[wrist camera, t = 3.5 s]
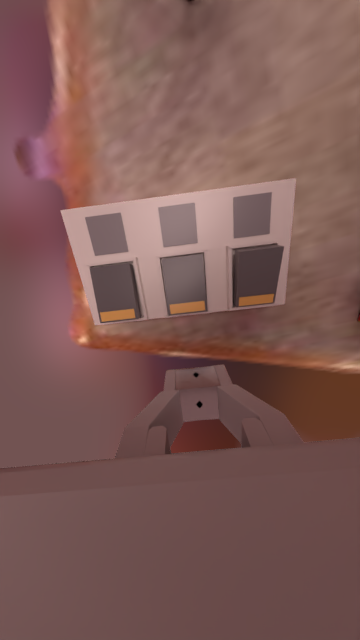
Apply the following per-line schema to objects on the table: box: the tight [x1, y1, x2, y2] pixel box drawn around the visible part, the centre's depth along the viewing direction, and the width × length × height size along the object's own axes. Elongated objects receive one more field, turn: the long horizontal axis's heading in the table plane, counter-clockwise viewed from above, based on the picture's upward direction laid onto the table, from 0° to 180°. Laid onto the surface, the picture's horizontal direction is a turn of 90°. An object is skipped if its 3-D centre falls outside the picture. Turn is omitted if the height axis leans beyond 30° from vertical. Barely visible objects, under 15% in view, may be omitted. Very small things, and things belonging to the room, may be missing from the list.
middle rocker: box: [162, 254, 208, 316], centre depth 22 cm, size 7×5×2 cm
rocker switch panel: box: [61, 178, 296, 325], centre depth 24 cm, size 15×28×5 cm, turn 97°
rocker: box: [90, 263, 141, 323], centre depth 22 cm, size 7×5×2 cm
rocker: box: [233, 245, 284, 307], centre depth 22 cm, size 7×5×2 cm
